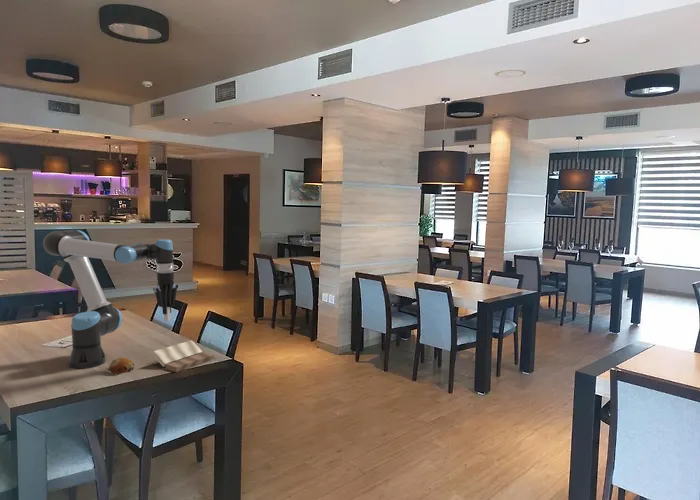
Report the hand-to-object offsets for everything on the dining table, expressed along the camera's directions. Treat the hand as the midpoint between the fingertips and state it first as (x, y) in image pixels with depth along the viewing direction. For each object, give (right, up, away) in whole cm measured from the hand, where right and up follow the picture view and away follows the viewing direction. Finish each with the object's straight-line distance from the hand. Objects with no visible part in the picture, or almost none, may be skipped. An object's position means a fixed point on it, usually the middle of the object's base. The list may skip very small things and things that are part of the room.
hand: (167, 320), depth 233 cm
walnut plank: (+14, -20, -7) cm, 25 cm away
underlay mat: (+8, -19, -4) cm, 21 cm away
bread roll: (-14, -21, -16) cm, 30 cm away
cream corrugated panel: (+6, -16, -3) cm, 17 cm away
